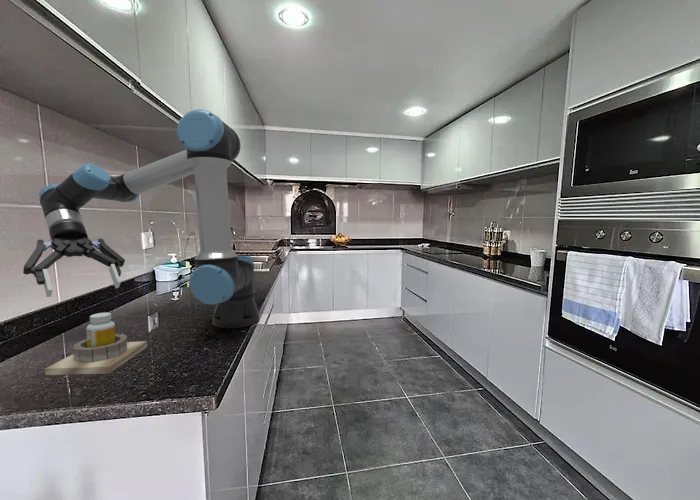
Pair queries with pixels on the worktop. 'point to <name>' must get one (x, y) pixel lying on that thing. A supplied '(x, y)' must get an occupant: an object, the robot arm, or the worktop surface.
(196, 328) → the worktop surface
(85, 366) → the jig plate
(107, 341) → the supplement bottle
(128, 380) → the worktop surface
